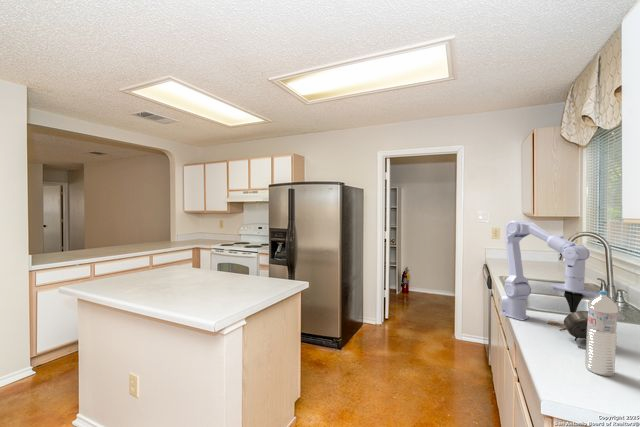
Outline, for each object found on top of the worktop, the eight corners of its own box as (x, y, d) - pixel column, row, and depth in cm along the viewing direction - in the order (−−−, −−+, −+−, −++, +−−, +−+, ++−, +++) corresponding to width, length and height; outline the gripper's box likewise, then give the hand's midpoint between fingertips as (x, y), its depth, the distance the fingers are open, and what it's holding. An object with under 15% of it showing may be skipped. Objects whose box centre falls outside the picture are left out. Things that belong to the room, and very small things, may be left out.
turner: (547, 324, 133) (547, 321, 133) (550, 321, 135) (550, 319, 135) (589, 335, 122) (589, 333, 122) (592, 332, 124) (592, 330, 124)
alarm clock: (581, 335, 120) (612, 307, 112) (589, 347, 116) (622, 318, 108) (554, 326, 121) (583, 297, 113) (561, 337, 116) (592, 308, 108)
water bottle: (584, 362, 100) (588, 287, 99) (613, 370, 96) (617, 291, 95) (585, 371, 95) (589, 291, 94) (615, 380, 91) (620, 296, 90)
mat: (577, 347, 111) (577, 346, 111) (587, 337, 120) (587, 336, 120) (607, 356, 105) (607, 355, 105) (615, 345, 114) (615, 344, 114)
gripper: (602, 279, 114) (600, 315, 115) (554, 272, 126) (553, 305, 126) (598, 282, 110) (596, 319, 110) (549, 274, 121) (547, 308, 122)
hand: (573, 312), depth 118 cm, fingers closed
